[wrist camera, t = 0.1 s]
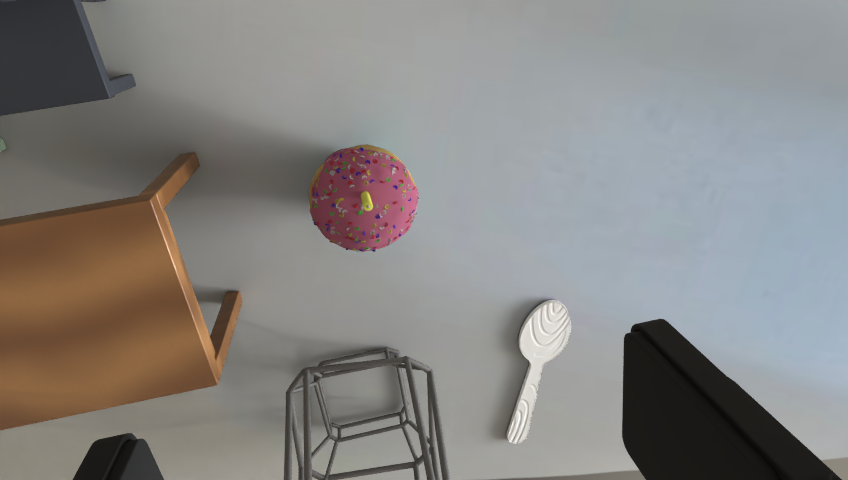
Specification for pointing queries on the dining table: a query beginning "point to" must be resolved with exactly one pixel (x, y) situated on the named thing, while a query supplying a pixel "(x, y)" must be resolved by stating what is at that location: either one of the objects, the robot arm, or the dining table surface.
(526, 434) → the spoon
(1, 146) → the sage chair
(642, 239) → the dining table surface
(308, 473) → the geometric lantern
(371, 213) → the cupcake
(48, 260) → the oak table
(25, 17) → the charcoal chair
